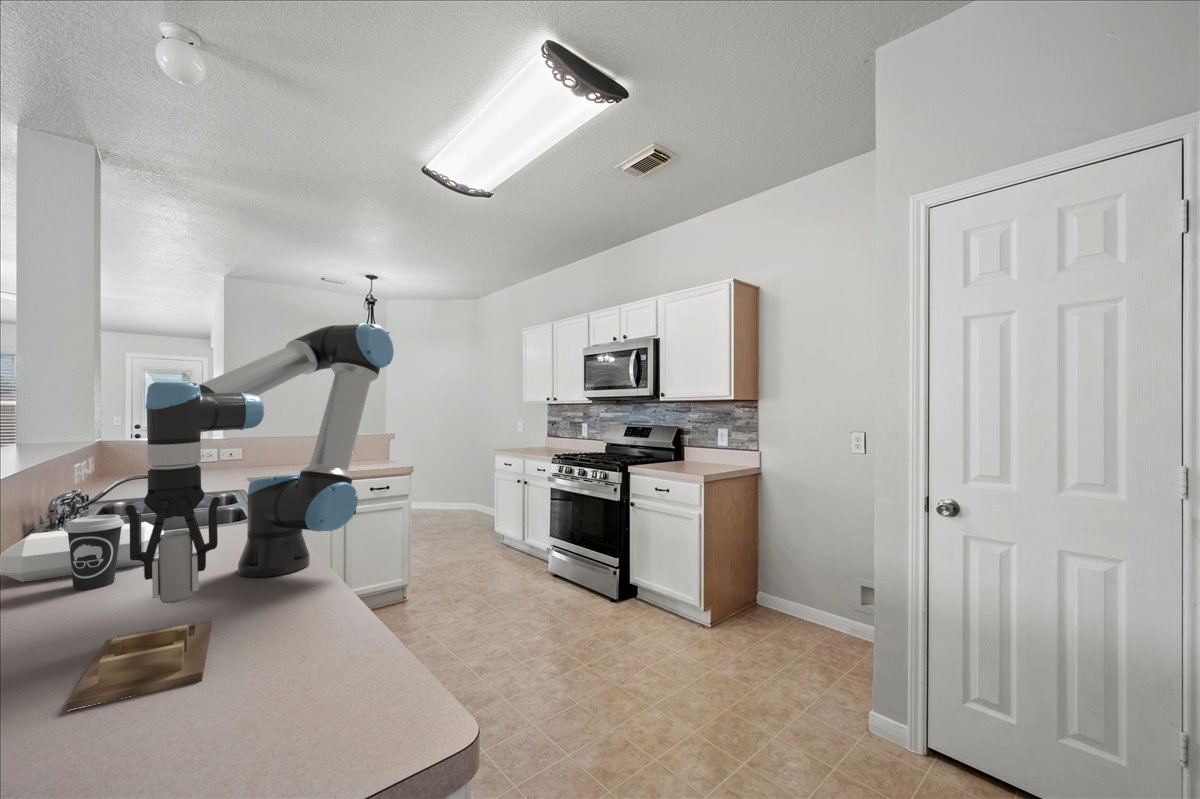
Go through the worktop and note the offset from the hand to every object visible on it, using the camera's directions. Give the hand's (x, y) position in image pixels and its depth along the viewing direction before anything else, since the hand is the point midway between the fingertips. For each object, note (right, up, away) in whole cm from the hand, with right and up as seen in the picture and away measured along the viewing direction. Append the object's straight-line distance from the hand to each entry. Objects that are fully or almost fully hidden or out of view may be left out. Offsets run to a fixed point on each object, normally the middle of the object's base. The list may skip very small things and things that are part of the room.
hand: (176, 591), depth 93 cm
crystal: (-49, -7, +32) cm, 59 cm away
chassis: (+7, -6, -14) cm, 17 cm away
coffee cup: (-36, -7, +21) cm, 42 cm away
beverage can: (0, -2, 0) cm, 2 cm away
